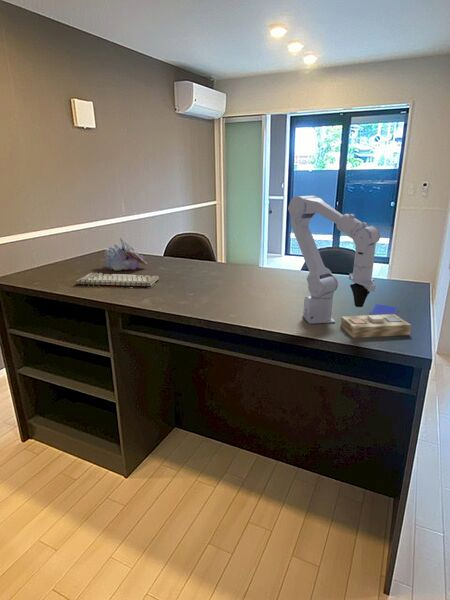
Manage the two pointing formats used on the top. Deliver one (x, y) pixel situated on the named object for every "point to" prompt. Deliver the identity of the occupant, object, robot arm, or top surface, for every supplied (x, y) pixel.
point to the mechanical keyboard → (115, 281)
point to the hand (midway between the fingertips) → (358, 306)
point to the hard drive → (383, 310)
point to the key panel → (375, 327)
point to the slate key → (392, 319)
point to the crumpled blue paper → (122, 257)
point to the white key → (375, 319)
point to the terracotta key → (357, 321)
